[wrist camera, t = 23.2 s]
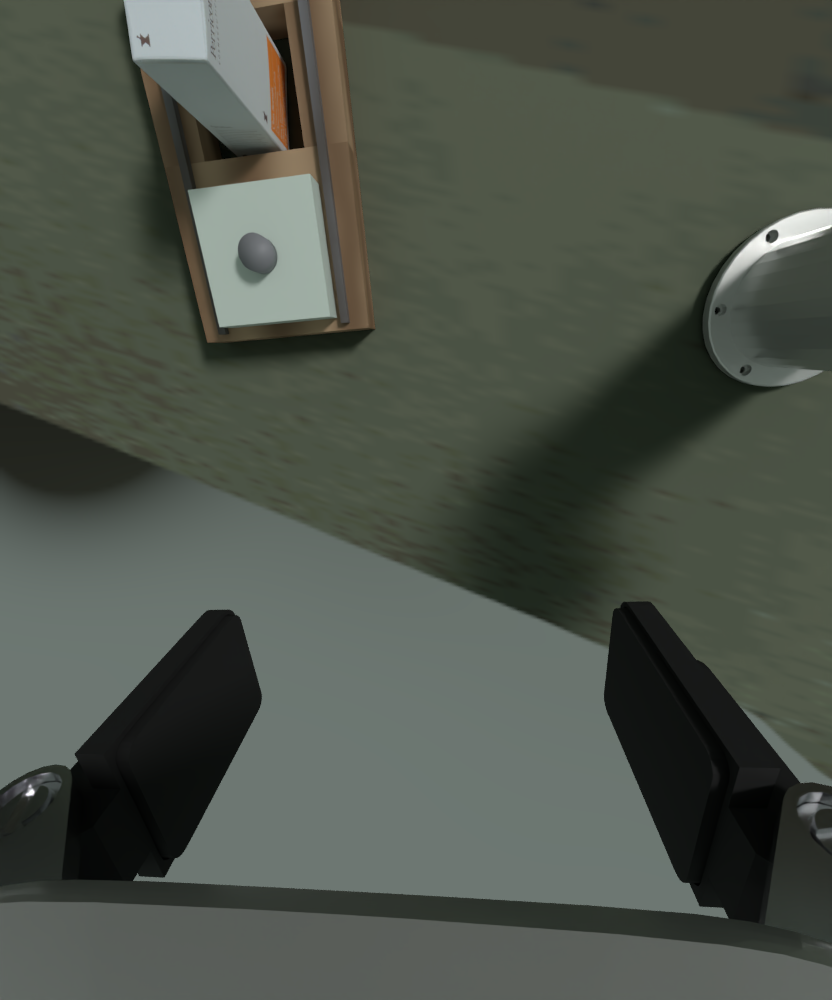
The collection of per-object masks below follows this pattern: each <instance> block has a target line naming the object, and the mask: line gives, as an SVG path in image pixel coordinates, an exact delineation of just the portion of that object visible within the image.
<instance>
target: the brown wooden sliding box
mask: <svg viewBox="0 0 832 1000" xmlns="http://www.w3.org/2000/svg"><path fill="white" fill-rule="evenodd" d="M250 2H251V4H252V5H253V7H254V9H255V11H256V12H257V14H258V16H259V18H260V20H261V21H262V23H263V25H264V27H265V28H266V30H267V32H268V34H269V35H270V37H271V39H272V40H278V39H284V38H289V44H290V51H291V58H292V65H293V72H294V79H295V86H296V93H297V100H298V107H299V114H300V121H301V128H302V135H303V142H304V148H299V149H292V150H284V151H277V152H270V153H263V154H256V155H249V156H242V157H235V158H228V159H222V156H221V151H220V146H219V141H218V138H217V137H215V136H214V135H213V134H212V133H211V132H210V131H209V130H208V129H207V128H206V127H204V126H203V125H202V124H201V123H200V122H199V121H198V120H197V119H196V118H195V117H194V116H192V115H191V114H190V113H189V112H188V111H187V110H186V109H185V108H184V107H183V106H182V105H181V104H180V103H178V102H177V101H176V100H175V99H174V98H173V97H172V96H171V95H170V94H168V93H167V92H166V91H165V90H164V89H163V88H162V87H161V86H160V85H159V84H158V83H156V82H155V81H154V80H153V79H152V78H151V77H150V76H149V75H148V74H147V73H145V72H144V71H143V70H142V69H141V68H140V70H141V74H142V78H143V82H144V86H145V90H146V94H147V98H148V102H149V107H150V111H151V115H152V119H153V123H154V127H155V131H156V135H157V139H158V143H159V147H160V151H161V156H162V160H163V164H164V168H165V172H166V176H167V180H168V184H169V188H170V192H171V196H172V200H173V205H174V209H175V213H176V217H177V221H178V225H179V229H180V233H181V237H182V241H183V245H184V249H185V253H186V258H187V262H188V266H189V270H190V274H191V278H192V282H193V286H194V290H195V294H196V298H197V302H198V307H199V311H200V315H201V319H202V323H203V327H204V331H205V335H206V339H207V343H229V342H240V341H251V340H262V339H273V338H283V337H294V336H305V335H316V334H327V333H338V332H349V331H359V330H370V329H375V323H374V313H373V304H372V295H371V285H370V276H369V267H368V258H367V248H366V239H365V230H364V220H363V211H362V202H361V192H360V183H359V174H358V164H357V155H356V146H355V136H354V127H353V118H352V108H351V99H350V90H349V81H348V71H347V62H346V53H345V43H344V34H343V25H342V15H341V6H340V0H250ZM303 174H311V176H312V177H313V178H314V179H315V180H316V182H317V183H318V184H319V190H320V197H321V204H322V212H323V219H324V226H325V234H326V241H327V248H328V255H329V263H330V270H331V277H332V285H333V292H334V299H335V307H336V314H337V318H333V319H322V320H312V321H301V322H291V323H281V324H270V325H260V326H249V327H239V328H224V327H219V323H218V319H217V314H216V310H215V306H214V301H213V297H212V293H211V289H210V284H209V280H208V276H207V271H206V267H205V263H204V258H203V254H202V250H201V245H200V241H199V237H198V233H197V228H196V224H195V220H194V215H193V211H192V207H191V202H190V198H189V194H188V190H192V189H200V188H207V187H214V186H222V185H229V184H237V183H244V182H252V181H259V180H266V179H274V178H281V177H289V176H296V175H303Z"/></svg>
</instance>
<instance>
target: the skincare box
mask: <svg viewBox="0 0 832 1000" xmlns="http://www.w3.org/2000/svg"><path fill="white" fill-rule="evenodd" d="M123 1H124V6H125V12H126V19H127V25H128V32H129V39H130V46H131V53H132V59H133V61H134V63H136V64H137V65H138V66H139V67H140V68H141V69H142V70H143V71H144V72H145V73H147V74H148V75H149V76H150V77H151V78H152V79H153V80H154V81H155V82H156V83H158V84H159V85H160V86H161V87H162V88H163V89H164V90H165V91H166V92H167V93H168V94H170V95H171V96H172V97H173V98H174V99H175V100H176V101H177V102H178V103H180V104H181V105H182V106H183V107H184V108H185V109H186V110H187V111H188V112H189V113H190V114H191V115H192V116H194V117H195V118H196V119H197V120H198V121H199V122H200V123H201V124H202V125H203V126H204V127H206V128H207V129H208V130H209V131H210V132H211V133H212V134H213V135H214V136H215V137H217V138H218V139H219V140H220V141H221V142H222V143H223V144H224V145H225V146H226V147H227V148H229V149H230V150H231V151H232V152H233V153H234V154H235V155H236V156H237V157H242V156H249V155H256V154H263V153H270V152H277V151H284V150H289V131H288V110H287V69H286V64H285V62H284V60H283V58H282V57H281V55H280V53H279V51H278V50H277V48H276V46H275V44H274V42H273V41H272V39H271V37H270V35H269V34H268V32H267V30H266V28H265V27H264V25H263V23H262V21H261V20H260V18H259V16H258V14H257V12H256V11H255V9H254V7H253V5H252V4H251V2H250V0H123Z"/></svg>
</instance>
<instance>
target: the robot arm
mask: <svg viewBox="0 0 832 1000" xmlns="http://www.w3.org/2000/svg"><path fill="white" fill-rule="evenodd" d="M715 309H717V311H716V313H715ZM703 336H704V341H705V346H706V348H707V350H708V353H709V355H710V357H711V359H712V360H713V362H714V363H715V364H716V366H717V367H718V368H719V369H720V370H721V371H722V372H724V373H725V374H726V375H727V376H729V377H731V378H733V379H735V380H737V381H739V382H742V383H746V384H751V385H755V386H766V387H774V386H785V385H790V384H794V383H798V382H801V381H804V380H806V379H809V378H811V377H814V376H816V375H818V374H820V373H821V372H823V371H832V208H814V209H810V210H805V211H800V212H797V213H794V214H791V215H789V216H786V217H783V218H781V219H779V220H777V221H775V222H773V223H771V224H769V225H767V226H765V227H763V228H762V229H760V230H759V231H757V232H756V233H755V234H753V235H752V236H750V237H749V238H748V239H747V240H745V241H744V242H743V243H742V244H741V245H740V246H739V247H738V248H737V249H736V250H735V251H734V252H733V253H732V255H731V256H730V257H729V258H728V260H727V261H726V262H725V263H724V265H723V266H722V267H721V269H720V271H719V273H718V274H717V276H716V278H715V280H714V281H713V283H712V286H711V288H710V291H709V294H708V296H707V299H706V303H705V308H704V313H703ZM740 369H741V371H740ZM261 699H262V694H261V690H260V687H259V683H258V679H257V676H256V672H255V669H254V666H253V662H252V658H251V654H250V651H249V647H248V644H247V640H246V637H245V633H244V630H243V626H242V623H241V619H240V617H238V616H237V615H235V614H234V612H233V611H231V610H208V611H206V612H205V613H204V614H203V615H202V616H201V617H200V618H199V619H198V620H197V621H196V623H194V625H193V626H192V627H191V628H190V629H189V630H188V631H187V632H186V633H185V635H183V637H182V638H181V639H180V640H179V641H178V642H177V643H176V644H175V645H174V646H173V647H172V649H171V650H170V651H169V652H168V653H167V654H166V655H165V656H164V657H163V658H162V659H161V661H160V662H159V663H158V664H157V665H156V666H155V667H154V668H153V669H152V670H151V671H150V672H149V674H148V675H147V676H146V677H145V678H144V679H143V680H142V681H141V682H140V683H139V685H138V686H137V687H136V688H135V689H134V690H133V691H132V692H131V693H130V694H129V695H128V696H127V698H126V699H125V700H124V701H123V702H122V703H121V704H120V705H119V706H118V707H117V708H116V709H115V711H114V712H113V713H112V714H111V715H110V716H109V717H108V718H107V719H106V720H105V721H104V723H103V724H102V725H101V726H100V727H99V728H98V729H97V730H96V731H95V732H94V733H93V734H92V736H91V737H90V738H89V739H88V740H87V741H86V742H85V743H84V744H83V745H82V746H81V748H80V749H79V750H78V751H77V752H76V753H75V756H76V757H77V760H78V762H77V763H76V764H75V765H74V766H73V767H72V768H71V770H70V769H68V768H67V767H66V766H62V765H50V766H46V767H41V768H39V769H36V770H34V771H31V772H28V773H26V774H25V775H23V776H21V777H19V778H17V779H16V780H14V781H12V782H11V783H9V784H8V785H6V786H5V787H4V788H2V789H1V790H0V1000H832V786H828V785H823V784H818V783H813V782H809V783H800V782H799V781H798V779H797V778H796V777H795V776H794V774H793V773H792V772H791V771H790V769H789V768H788V767H787V766H786V764H785V763H784V762H783V760H782V759H781V758H780V757H779V756H778V754H777V753H776V752H775V751H774V749H773V748H772V747H771V745H770V744H769V743H768V742H767V740H766V739H765V738H764V737H763V735H762V734H761V733H760V732H759V730H758V729H757V728H756V727H755V725H754V724H753V723H752V722H751V720H750V719H749V718H748V717H747V715H746V714H745V713H744V712H743V710H742V709H741V708H740V707H739V705H738V704H737V703H736V702H735V700H734V699H733V698H732V697H731V695H730V694H729V693H728V692H727V690H726V689H725V688H724V687H723V685H722V684H721V683H720V682H719V680H718V679H717V678H716V677H715V675H714V674H713V673H712V671H711V670H710V669H709V668H708V667H707V666H706V665H705V664H704V663H702V662H700V661H698V660H696V659H695V658H694V657H693V655H692V654H691V653H690V651H689V650H688V649H687V648H686V646H685V645H684V644H683V642H682V641H681V640H680V639H679V637H678V636H677V635H676V633H675V632H674V631H673V630H672V628H671V627H670V626H669V624H668V623H667V622H666V621H665V619H664V618H663V617H662V615H661V614H660V613H659V612H658V610H657V609H656V608H655V606H654V605H653V604H652V603H651V602H648V601H647V602H623V603H622V604H621V607H620V608H616V609H614V611H613V617H612V626H611V635H610V644H609V654H608V663H607V672H606V681H605V690H604V701H605V706H606V710H607V713H608V715H609V717H610V719H611V722H612V724H613V727H614V729H615V731H616V734H617V736H618V738H619V741H620V743H621V745H622V748H623V750H624V752H625V755H626V757H627V760H628V762H629V764H630V766H631V769H632V771H633V774H634V776H635V778H636V780H637V783H638V785H639V788H640V790H641V792H642V795H643V797H644V799H645V802H646V804H647V806H648V808H649V811H650V813H651V816H652V818H653V821H654V823H655V825H656V828H657V830H658V832H659V835H660V837H661V839H662V842H663V844H664V846H665V849H666V851H667V853H668V856H669V858H670V860H671V863H672V865H673V868H674V870H675V872H676V874H677V876H678V877H679V879H680V880H681V881H682V882H684V883H690V885H691V888H692V890H693V892H694V894H695V897H696V899H697V901H698V903H699V906H703V907H722V908H724V909H725V912H726V914H727V916H728V918H729V919H727V918H719V917H712V916H705V915H698V914H687V913H675V912H663V911H651V910H638V909H627V908H614V907H602V906H589V905H571V904H556V903H538V902H523V901H507V900H506V901H505V900H490V899H474V898H457V897H440V896H423V895H404V894H387V893H368V892H351V891H331V890H314V889H295V888H276V887H255V886H235V885H214V884H194V883H193V884H192V883H173V882H149V881H133V880H134V878H135V876H136V875H137V873H138V874H139V876H145V877H165V875H166V874H167V872H168V870H169V868H170V866H171V864H172V862H173V860H174V859H175V858H178V857H179V856H180V855H181V854H182V853H183V852H184V850H185V849H186V847H187V845H188V843H189V841H190V840H191V837H192V836H193V834H194V832H195V830H196V828H197V826H198V824H199V823H200V820H201V819H202V817H203V815H204V813H205V811H206V809H207V807H208V805H209V803H210V802H211V800H212V798H213V796H214V794H215V792H216V790H217V788H218V786H219V784H220V783H221V780H222V779H223V777H224V775H225V773H226V771H227V769H228V767H229V765H230V763H231V762H232V760H233V758H234V756H235V754H236V752H237V750H238V748H239V746H240V745H241V743H242V741H243V739H244V737H245V735H246V733H247V731H248V729H249V727H250V725H251V723H252V722H253V720H254V718H255V716H256V714H257V712H258V710H259V708H260V705H261Z"/></svg>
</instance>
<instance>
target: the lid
mask: <svg viewBox="0 0 832 1000" xmlns="http://www.w3.org/2000/svg"><path fill="white" fill-rule="evenodd" d="M188 194H189V198H190V202H191V207H192V211H193V215H194V220H195V224H196V228H197V233H198V237H199V241H200V245H201V250H202V254H203V258H204V263H205V267H206V271H207V276H208V280H209V284H210V289H211V293H212V297H213V301H214V306H215V310H216V314H217V319H218V323H219V327H224V328H239V327H249V326H260V325H270V324H281V323H291V322H301V321H312V320H322V319H333V318H337V314H336V307H335V299H334V292H333V285H332V277H331V270H330V263H329V255H328V248H327V241H326V234H325V226H324V219H323V212H322V204H321V197H320V190H319V184H318V183H317V182H316V180H315V179H314V178H313V177H312V176H311V174H303V175H296V176H289V177H281V178H274V179H266V180H259V181H252V182H244V183H237V184H229V185H222V186H214V187H207V188H200V189H192V190H188Z"/></svg>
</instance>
